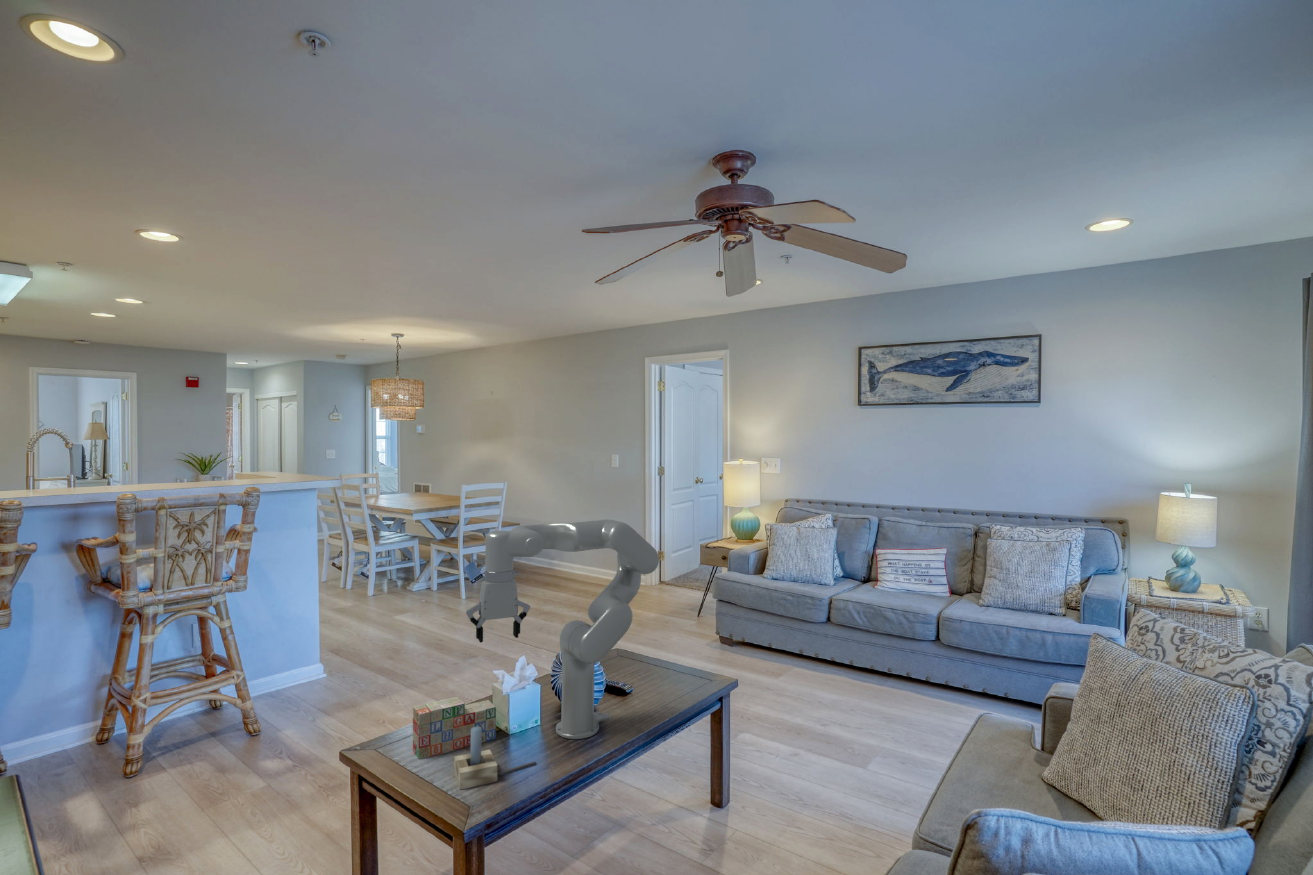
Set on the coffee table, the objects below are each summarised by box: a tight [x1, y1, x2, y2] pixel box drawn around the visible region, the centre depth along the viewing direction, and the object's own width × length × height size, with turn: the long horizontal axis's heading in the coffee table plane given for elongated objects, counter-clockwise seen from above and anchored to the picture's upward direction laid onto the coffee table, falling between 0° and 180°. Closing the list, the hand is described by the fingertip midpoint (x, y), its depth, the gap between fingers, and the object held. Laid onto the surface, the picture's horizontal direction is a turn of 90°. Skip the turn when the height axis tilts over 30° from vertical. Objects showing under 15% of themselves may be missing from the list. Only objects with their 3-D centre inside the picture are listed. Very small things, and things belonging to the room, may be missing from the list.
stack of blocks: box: [412, 695, 497, 760], centre depth 177 cm, size 21×6×12 cm, turn 125°
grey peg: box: [469, 727, 482, 766], centre depth 160 cm, size 3×3×12 cm
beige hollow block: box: [453, 749, 498, 791], centre depth 160 cm, size 9×9×4 cm
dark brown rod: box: [498, 760, 537, 777], centre depth 164 cm, size 10×1×1 cm, turn 127°
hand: (498, 638), depth 174 cm, fingers open, 9 cm apart
